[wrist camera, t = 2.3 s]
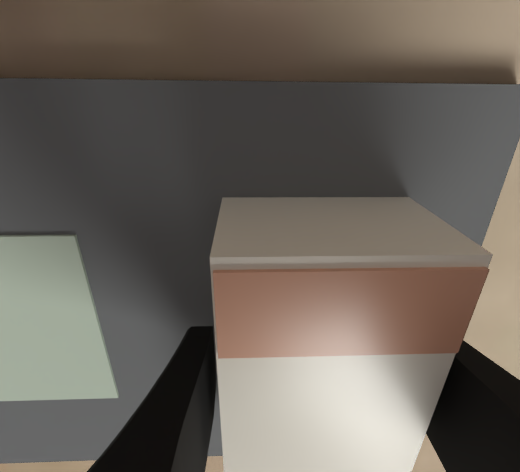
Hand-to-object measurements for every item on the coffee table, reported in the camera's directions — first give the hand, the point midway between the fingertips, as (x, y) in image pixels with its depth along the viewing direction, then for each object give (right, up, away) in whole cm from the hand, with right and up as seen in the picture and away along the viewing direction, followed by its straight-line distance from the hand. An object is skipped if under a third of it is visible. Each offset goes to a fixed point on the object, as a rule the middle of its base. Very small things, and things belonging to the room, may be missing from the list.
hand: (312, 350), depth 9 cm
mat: (-6, +1, +1) cm, 6 cm away
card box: (0, +1, +1) cm, 1 cm away
